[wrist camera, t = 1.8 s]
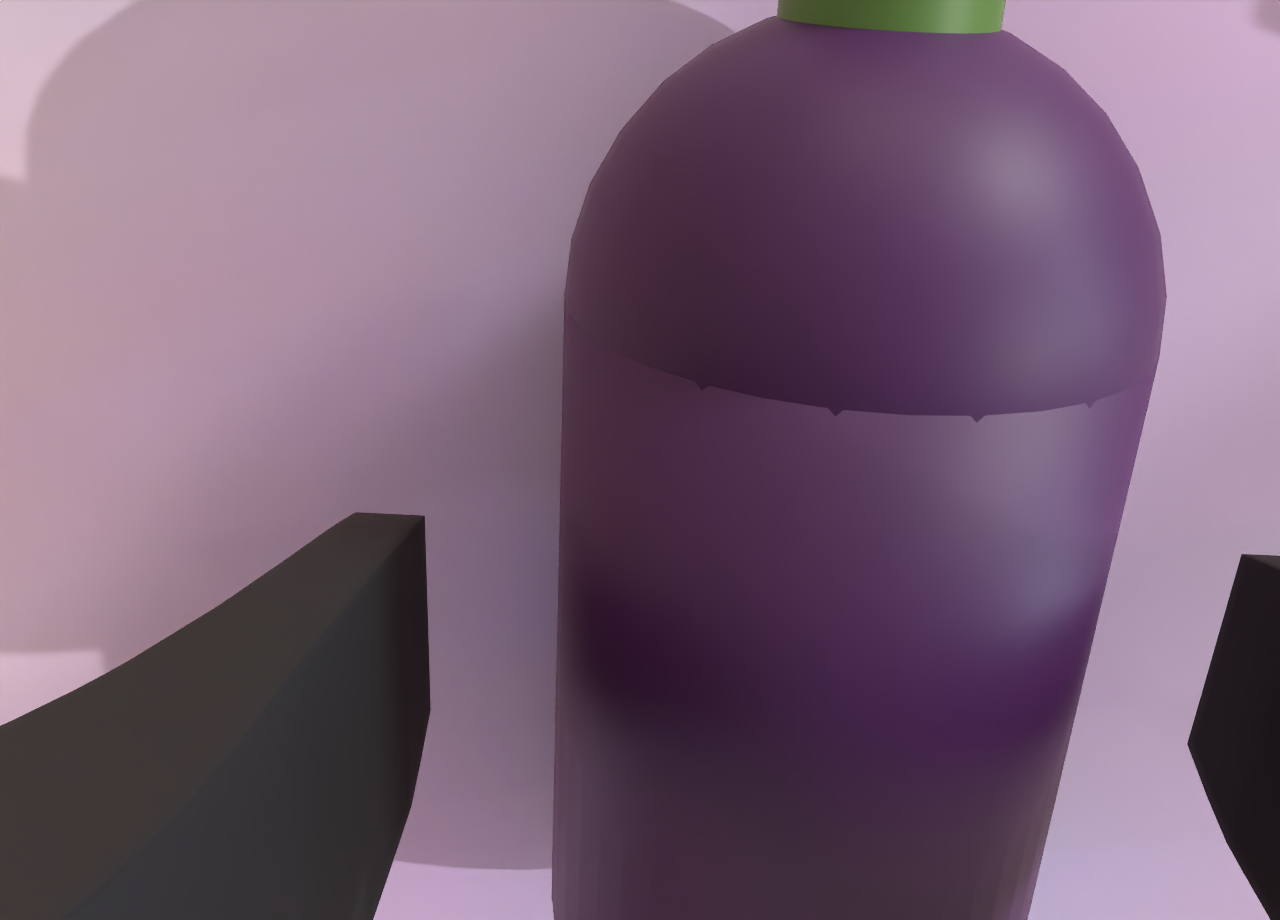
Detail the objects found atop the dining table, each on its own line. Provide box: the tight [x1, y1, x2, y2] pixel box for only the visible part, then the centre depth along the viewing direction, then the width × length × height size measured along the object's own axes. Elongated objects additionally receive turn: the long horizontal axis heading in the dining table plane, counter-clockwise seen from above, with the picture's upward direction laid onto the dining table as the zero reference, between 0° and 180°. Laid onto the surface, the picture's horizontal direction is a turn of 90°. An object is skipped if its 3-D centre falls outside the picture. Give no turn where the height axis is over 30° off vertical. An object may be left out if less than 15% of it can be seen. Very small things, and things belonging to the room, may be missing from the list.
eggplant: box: [552, 0, 1167, 920], centre depth 11 cm, size 12×5×5 cm, turn 177°
